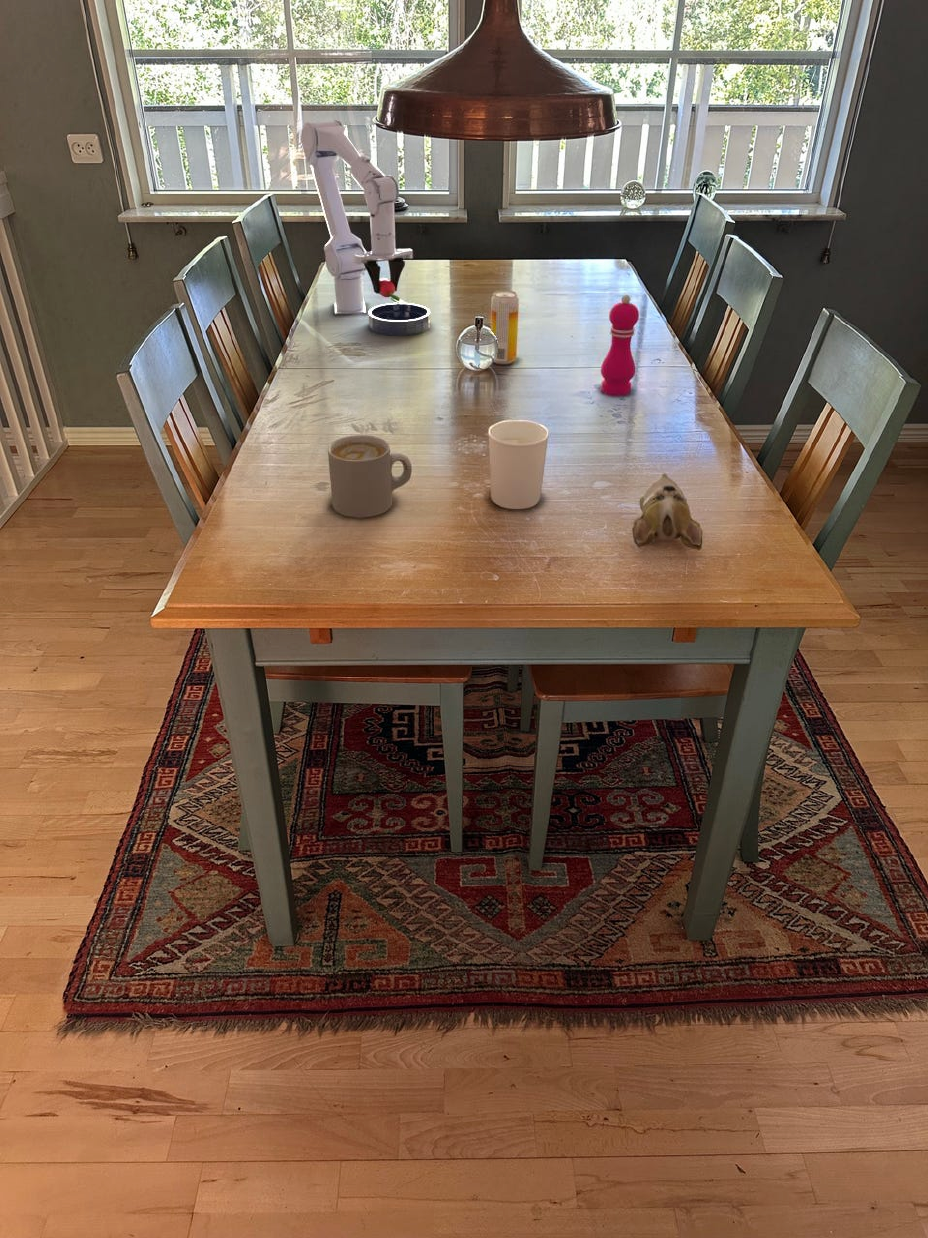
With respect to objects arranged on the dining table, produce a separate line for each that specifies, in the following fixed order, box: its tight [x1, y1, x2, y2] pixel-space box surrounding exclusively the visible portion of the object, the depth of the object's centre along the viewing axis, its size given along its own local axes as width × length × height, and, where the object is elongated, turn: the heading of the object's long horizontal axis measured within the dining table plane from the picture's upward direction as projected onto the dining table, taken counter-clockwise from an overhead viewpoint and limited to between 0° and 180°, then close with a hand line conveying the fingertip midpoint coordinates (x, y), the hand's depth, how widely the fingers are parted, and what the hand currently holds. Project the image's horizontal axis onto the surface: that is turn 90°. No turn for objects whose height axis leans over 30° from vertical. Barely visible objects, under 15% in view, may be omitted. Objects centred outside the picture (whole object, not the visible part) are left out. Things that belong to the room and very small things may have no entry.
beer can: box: [490, 289, 520, 365], centre depth 202 cm, size 6×6×15 cm
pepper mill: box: [600, 294, 640, 397], centre depth 186 cm, size 7×7×20 cm
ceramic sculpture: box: [631, 472, 703, 551], centre depth 139 cm, size 11×9×15 cm
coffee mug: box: [327, 434, 413, 519], centre depth 146 cm, size 13×10×10 cm
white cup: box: [487, 419, 550, 510], centre depth 148 cm, size 10×10×12 cm
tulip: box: [379, 277, 406, 304], centre depth 219 cm, size 11×4×4 cm, turn 28°
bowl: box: [368, 302, 431, 337], centre depth 224 cm, size 15×15×4 cm
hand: (385, 291), depth 221 cm, fingers closed on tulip, 4 cm apart
